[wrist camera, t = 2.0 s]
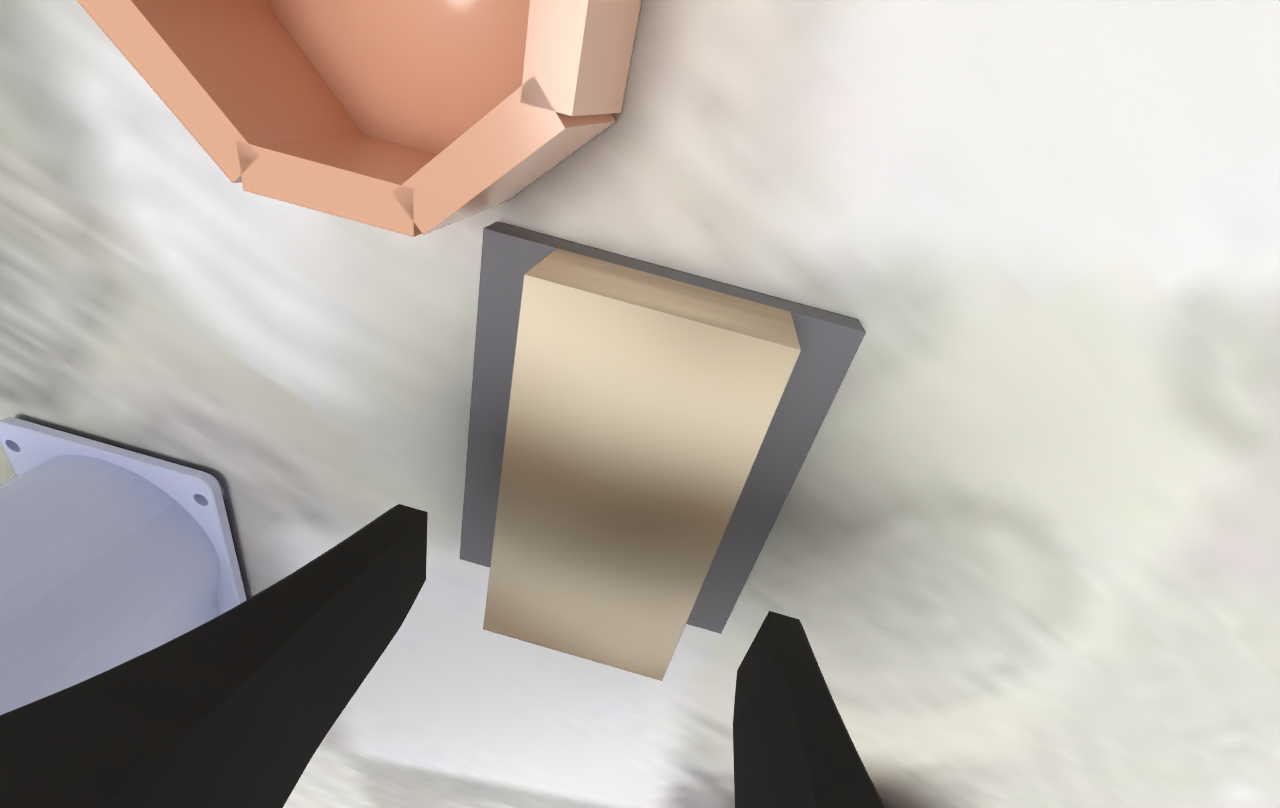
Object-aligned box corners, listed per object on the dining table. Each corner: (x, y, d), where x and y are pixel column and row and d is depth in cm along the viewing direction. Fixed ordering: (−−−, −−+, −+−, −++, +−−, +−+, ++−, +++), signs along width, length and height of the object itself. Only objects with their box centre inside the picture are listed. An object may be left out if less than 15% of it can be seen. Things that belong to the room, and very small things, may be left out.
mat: (721, 613, 18) (721, 633, 18) (469, 541, 18) (459, 558, 18) (858, 320, 13) (865, 332, 12) (496, 221, 13) (483, 228, 12)
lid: (669, 618, 18) (661, 680, 16) (509, 573, 18) (483, 628, 16) (790, 311, 12) (801, 349, 10) (557, 248, 12) (524, 274, 10)
